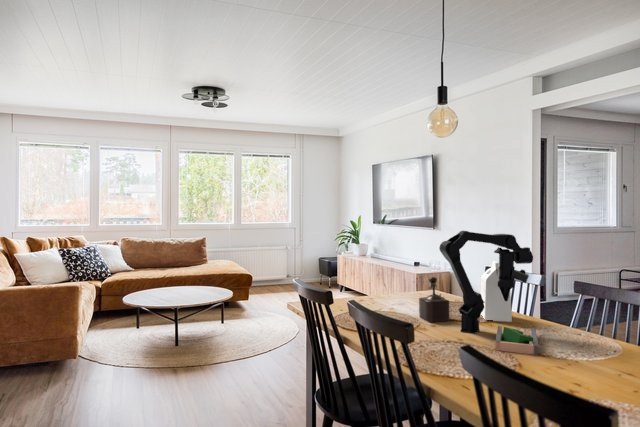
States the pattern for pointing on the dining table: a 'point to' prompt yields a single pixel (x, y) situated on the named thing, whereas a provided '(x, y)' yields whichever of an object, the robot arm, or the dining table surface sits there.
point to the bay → (517, 344)
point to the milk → (494, 296)
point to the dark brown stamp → (434, 306)
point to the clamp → (515, 336)
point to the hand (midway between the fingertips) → (506, 300)
